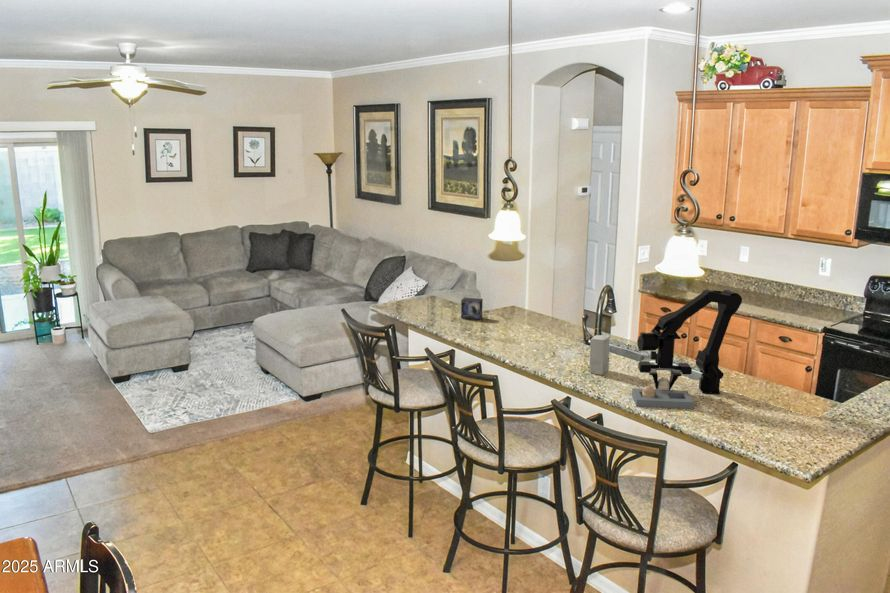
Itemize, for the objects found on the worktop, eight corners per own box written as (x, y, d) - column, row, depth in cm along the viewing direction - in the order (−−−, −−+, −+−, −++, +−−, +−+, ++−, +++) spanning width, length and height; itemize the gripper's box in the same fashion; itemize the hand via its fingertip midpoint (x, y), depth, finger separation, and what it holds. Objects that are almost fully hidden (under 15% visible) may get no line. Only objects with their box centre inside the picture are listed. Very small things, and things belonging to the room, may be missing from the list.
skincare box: (602, 375, 285) (604, 340, 282) (588, 373, 288) (590, 338, 285) (608, 369, 292) (610, 335, 289) (594, 367, 295) (596, 333, 292)
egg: (667, 390, 268) (668, 376, 267) (669, 394, 264) (670, 380, 262) (655, 390, 268) (656, 375, 267) (657, 394, 264) (658, 379, 263)
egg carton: (686, 397, 261) (688, 382, 260) (693, 409, 250) (695, 393, 248) (631, 394, 264) (632, 379, 262) (636, 406, 252) (637, 391, 251)
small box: (460, 319, 375) (460, 299, 373) (463, 316, 381) (463, 297, 379) (479, 320, 372) (480, 301, 370) (482, 317, 378) (482, 298, 376)
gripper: (687, 344, 269) (684, 383, 272) (637, 342, 271) (634, 381, 275) (693, 353, 258) (690, 393, 262) (641, 351, 261) (638, 391, 264)
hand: (663, 389), depth 266 cm, fingers closed on egg, 4 cm apart
